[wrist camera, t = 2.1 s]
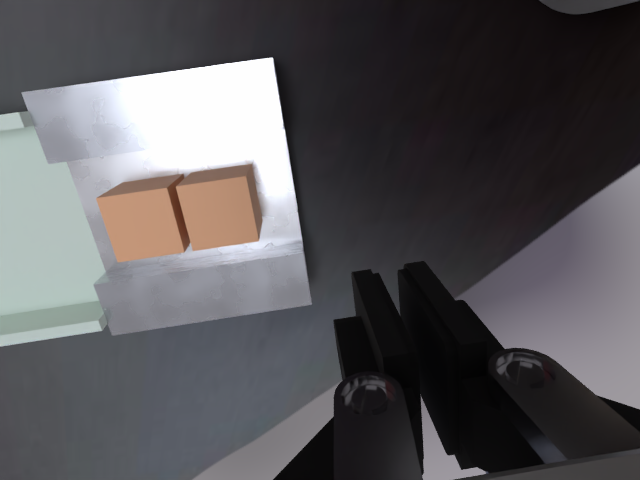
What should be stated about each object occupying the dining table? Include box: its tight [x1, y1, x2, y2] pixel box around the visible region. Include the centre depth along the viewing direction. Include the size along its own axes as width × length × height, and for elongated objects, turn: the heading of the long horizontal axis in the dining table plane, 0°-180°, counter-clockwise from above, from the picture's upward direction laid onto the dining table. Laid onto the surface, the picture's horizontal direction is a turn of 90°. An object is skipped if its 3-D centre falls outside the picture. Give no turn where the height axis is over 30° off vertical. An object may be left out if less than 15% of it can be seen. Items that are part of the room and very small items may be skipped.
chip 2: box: [176, 164, 263, 251], centre depth 26 cm, size 4×4×4 cm
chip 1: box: [96, 174, 191, 262], centre depth 26 cm, size 4×4×4 cm
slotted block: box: [21, 58, 312, 336], centre depth 27 cm, size 14×16×4 cm
